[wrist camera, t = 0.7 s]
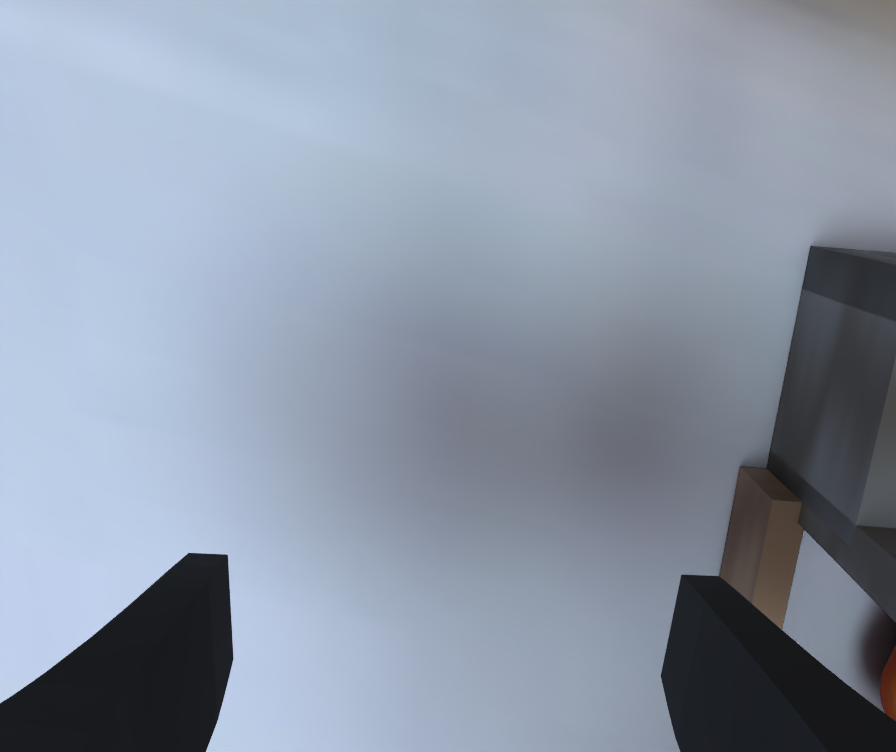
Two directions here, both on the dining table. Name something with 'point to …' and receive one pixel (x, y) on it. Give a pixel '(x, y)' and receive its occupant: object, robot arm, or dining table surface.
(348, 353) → the dining table surface
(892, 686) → the fruit
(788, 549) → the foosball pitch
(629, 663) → the dining table surface
